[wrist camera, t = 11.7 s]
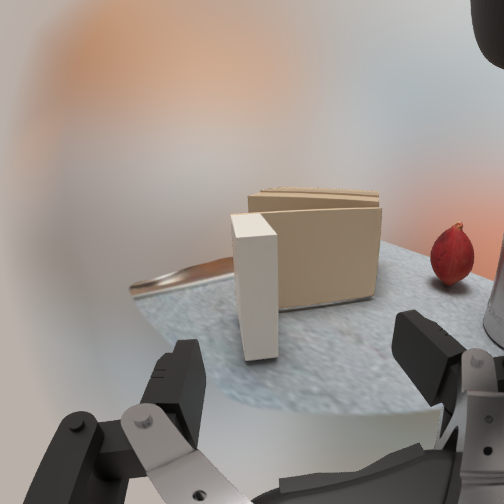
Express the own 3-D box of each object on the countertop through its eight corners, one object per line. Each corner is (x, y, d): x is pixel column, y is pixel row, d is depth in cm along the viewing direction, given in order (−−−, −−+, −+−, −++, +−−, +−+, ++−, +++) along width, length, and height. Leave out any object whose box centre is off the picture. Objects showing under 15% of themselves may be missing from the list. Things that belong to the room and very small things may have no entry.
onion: (429, 294, 27) (440, 224, 24) (423, 274, 32) (431, 214, 29) (472, 297, 24) (485, 229, 22) (461, 278, 29) (470, 219, 27)
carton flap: (371, 292, 28) (378, 207, 25) (410, 330, 20) (429, 225, 18) (237, 309, 26) (230, 214, 23) (245, 360, 19) (236, 237, 16)
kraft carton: (374, 263, 37) (378, 189, 33) (370, 295, 28) (379, 199, 25) (280, 254, 42) (278, 185, 39) (252, 280, 34) (247, 194, 31)
